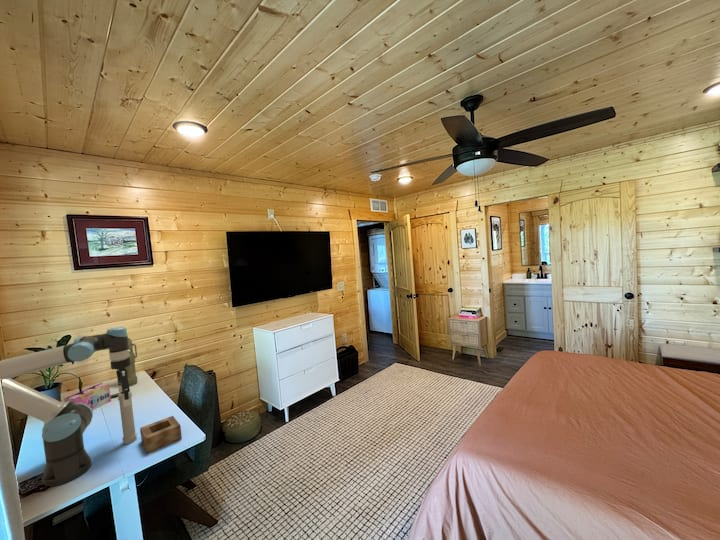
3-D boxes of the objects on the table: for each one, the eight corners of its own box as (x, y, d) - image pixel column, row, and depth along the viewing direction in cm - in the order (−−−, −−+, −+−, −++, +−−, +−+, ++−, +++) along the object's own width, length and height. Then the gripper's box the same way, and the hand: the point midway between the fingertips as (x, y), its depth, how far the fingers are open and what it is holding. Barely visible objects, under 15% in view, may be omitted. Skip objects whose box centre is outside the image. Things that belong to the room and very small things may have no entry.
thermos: (119, 387, 221) (113, 340, 220) (139, 381, 229) (134, 336, 228) (120, 390, 215) (115, 342, 213) (141, 384, 223) (135, 338, 221)
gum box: (104, 401, 199) (101, 382, 199) (113, 401, 198) (111, 382, 198) (66, 419, 177) (63, 398, 177) (76, 419, 176) (73, 398, 176)
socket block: (147, 453, 138) (145, 438, 138) (141, 441, 148) (140, 427, 148) (181, 438, 148) (180, 425, 147) (174, 428, 158) (172, 415, 157)
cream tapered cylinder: (129, 444, 146) (122, 384, 145) (118, 444, 147) (111, 383, 146) (139, 437, 151) (133, 379, 150) (129, 437, 153) (122, 379, 151)
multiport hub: (107, 399, 202) (107, 396, 202) (128, 393, 210) (127, 390, 209) (107, 401, 199) (107, 398, 199) (128, 395, 206) (128, 392, 206)
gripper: (134, 361, 141) (139, 406, 142) (126, 352, 159) (130, 391, 160) (113, 366, 136) (118, 412, 137) (107, 356, 154) (112, 397, 155)
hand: (125, 401), depth 148 cm, fingers open, 13 cm apart
